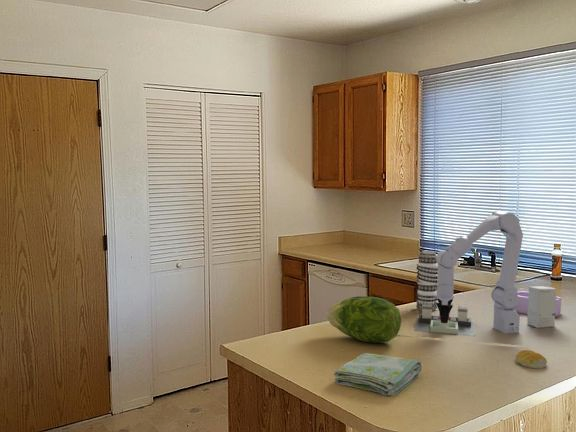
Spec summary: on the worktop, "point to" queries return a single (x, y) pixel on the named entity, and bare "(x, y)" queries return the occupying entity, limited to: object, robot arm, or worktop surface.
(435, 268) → the striped tower model
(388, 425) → the worktop surface
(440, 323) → the block
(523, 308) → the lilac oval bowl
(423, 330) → the panel
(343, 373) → the towel
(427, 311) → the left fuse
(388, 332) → the lettuce
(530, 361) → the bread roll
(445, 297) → the robot arm
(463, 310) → the block
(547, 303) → the skincare box
